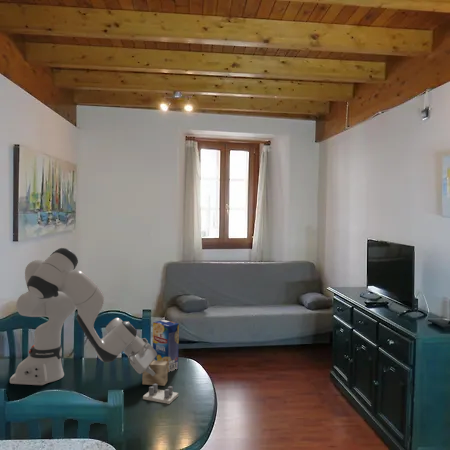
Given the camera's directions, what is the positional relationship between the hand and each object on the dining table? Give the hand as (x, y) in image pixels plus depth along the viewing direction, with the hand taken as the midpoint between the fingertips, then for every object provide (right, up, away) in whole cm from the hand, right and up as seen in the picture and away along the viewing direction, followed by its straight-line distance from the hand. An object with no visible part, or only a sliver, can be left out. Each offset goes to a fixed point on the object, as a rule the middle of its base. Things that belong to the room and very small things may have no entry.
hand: (156, 371), depth 190 cm
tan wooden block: (-1, -5, 0) cm, 5 cm away
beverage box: (+1, -5, +19) cm, 20 cm away
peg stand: (+4, -6, -13) cm, 15 cm away
